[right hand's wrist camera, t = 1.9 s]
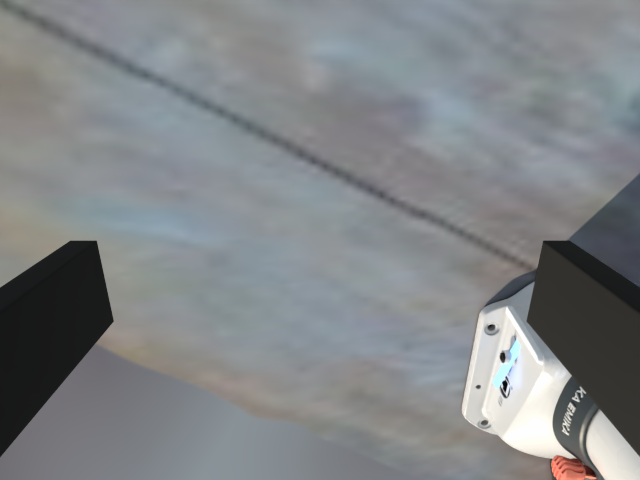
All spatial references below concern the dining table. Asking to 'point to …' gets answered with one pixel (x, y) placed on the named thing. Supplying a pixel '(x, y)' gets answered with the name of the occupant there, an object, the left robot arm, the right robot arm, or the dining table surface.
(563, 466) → the left robot arm
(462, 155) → the dining table surface
